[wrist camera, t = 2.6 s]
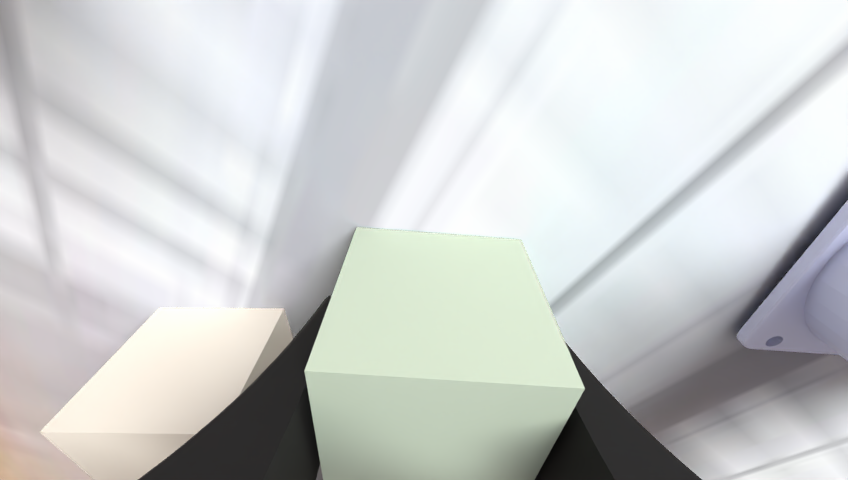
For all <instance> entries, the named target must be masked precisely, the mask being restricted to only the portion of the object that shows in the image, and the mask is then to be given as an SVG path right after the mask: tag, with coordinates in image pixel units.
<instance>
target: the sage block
mask: <svg viewBox="0 0 848 480" xmlns="http://www.w3.org/2000/svg"><path fill="white" fill-rule="evenodd" d="M304 372H305V377H306V383H307V389H308V395H309V401H310V406H311V412H312V418H313V424H314V430H315V435H316V441H317V447H318V453H319V459H320V465H321V470H322V476H323V480H535V478H536V476H537V474H538V473H539V471H540V469H541V467H542V465H543V464H544V462H545V460H546V458H547V456H548V454H549V453H550V451H551V449H552V447H553V445H554V444H555V442H556V440H557V438H558V436H559V435H560V433H561V431H562V429H563V427H564V426H565V424H566V422H567V420H568V418H569V417H570V415H571V413H572V411H573V409H574V408H575V406H576V404H577V402H578V400H579V399H580V397H581V395H582V393H583V391H584V390H585V388H584V385H583V383H582V381H581V378H580V376H579V374H578V371H577V369H576V367H575V364H574V362H573V360H572V357H571V355H570V352H569V350H568V348H567V345H566V343H565V341H564V338H563V336H562V334H561V331H560V329H559V327H558V324H557V322H556V320H555V317H554V315H553V313H552V310H551V308H550V306H549V303H548V301H547V299H546V296H545V294H544V292H543V289H542V287H541V285H540V282H539V280H538V278H537V275H536V273H535V271H534V268H533V266H532V264H531V261H530V259H529V257H528V254H527V252H526V250H525V247H524V245H523V243H522V240H519V239H505V238H492V237H479V236H466V235H453V234H440V233H427V232H414V231H401V230H388V229H375V228H362V227H356V230H355V233H354V236H353V238H352V241H351V244H350V247H349V249H348V252H347V255H346V258H345V261H344V263H343V266H342V269H341V272H340V274H339V277H338V280H337V283H336V285H335V288H334V291H333V294H332V296H331V299H330V302H329V305H328V307H327V310H326V313H325V316H324V318H323V321H322V324H321V327H320V329H319V332H318V335H317V338H316V340H315V343H314V346H313V349H312V351H311V354H310V357H309V360H308V362H307V365H306V368H305V371H304Z"/></svg>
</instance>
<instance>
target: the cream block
mask: <svg viewBox="0 0 848 480" xmlns="http://www.w3.org/2000/svg"><path fill="white" fill-rule="evenodd" d="M292 340H293V336H292V333H291V329H290V326H289V323H288V319H287V316H286V313H285V310H284V308H183V307H159V308H158V309H157V310H156V311H155V312H154V314H153V315H152V316H151V317H150V318H149V319H148V320H147V321H146V322H145V323H144V324H143V325H142V326H141V327H140V328H139V329H138V330H137V331H136V332H135V333H134V334H133V335H132V336H131V337H130V339H129V340H128V341H127V342H126V343H125V344H124V345H123V346H122V347H121V348H120V349H119V350H118V351H117V352H116V353H115V354H114V355H113V356H112V357H111V358H110V359H109V360H108V361H107V362H106V364H105V365H104V366H103V367H102V368H101V369H100V370H99V371H98V372H97V373H96V374H95V375H94V376H93V377H92V378H91V379H90V380H89V381H88V382H87V383H86V384H85V385H84V386H83V388H82V389H81V390H80V391H79V392H78V393H77V394H76V395H75V396H74V397H73V398H72V399H71V400H70V401H69V402H68V403H67V404H66V405H65V406H64V407H63V408H62V409H61V410H60V411H59V413H58V414H57V415H56V416H55V417H54V418H53V419H52V420H51V421H50V422H49V423H48V424H47V425H46V426H45V427H44V428H43V429H42V430H41V431H40V433H41V434H42V435H43V436H45V437H46V438H47V439H48V440H49V441H50V442H51V443H52V444H54V445H55V446H56V447H57V448H58V449H59V450H60V451H61V452H63V453H64V454H65V455H66V456H67V457H68V458H69V459H71V460H72V461H73V462H74V463H75V464H76V465H77V466H78V467H80V468H81V469H82V470H83V471H84V472H85V473H86V474H87V475H89V476H90V477H91V478H92V479H93V480H138V479H139V478H141V477H142V476H143V475H145V474H146V473H147V472H149V471H150V470H151V469H153V468H154V467H155V466H157V465H158V464H159V463H160V462H162V461H163V460H164V459H166V458H167V457H168V456H170V455H171V454H172V453H173V452H175V451H176V450H177V449H178V448H180V447H181V446H182V445H183V444H184V443H186V442H187V441H188V440H189V439H190V438H192V437H193V436H194V435H195V434H196V433H198V432H199V431H200V430H201V429H202V428H203V427H205V426H206V425H207V424H208V423H209V422H210V421H212V420H213V419H214V418H215V417H216V416H217V415H219V414H220V413H221V412H222V411H223V410H224V409H225V408H226V407H227V406H228V405H230V404H231V403H232V402H233V401H234V400H235V399H236V398H237V397H238V396H239V395H240V394H241V393H242V392H243V391H245V390H246V389H247V388H248V387H249V386H250V385H251V384H252V383H253V382H254V381H255V380H256V379H257V378H258V377H259V376H260V375H261V373H262V372H263V371H264V370H265V369H266V368H267V367H268V366H269V365H270V364H271V363H272V362H273V361H274V360H275V359H276V358H277V357H278V356H279V355H280V353H281V352H282V351H283V350H284V349H285V348H286V347H287V346H288V344H289V343H290V342H291V341H292Z"/></svg>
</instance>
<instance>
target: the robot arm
mask: <svg viewBox="0 0 848 480" xmlns="http://www.w3.org/2000/svg"><path fill="white" fill-rule="evenodd" d="M330 299H331V296H328V297H327V298H326V299H325V300H324V301H323V303H322V304H321V305H320V307H319V308H318V309H317V311H316V312H315V313H314V315H313V316H312V317H311V318H310V320H309V321H308V322H307V323H306V324H305V326H304V327H303V328H302V329H301V331H300V332H299V333H298V334H297V335H296V336H295V338H294V339H293V340H292V341H291V342H290V343H289V344H288V346H287V347H286V348H285V349H284V350H283V351H282V352H281V353H280V355H279V356H278V357H277V358H276V359H275V360H274V361H273V362H272V363H271V364H270V365H269V366H268V367H267V368H266V369H265V370H264V371H263V372H262V373H261V375H260V376H259V377H258V378H257V379H256V380H255V381H254V382H253V383H252V384H251V385H250V386H249V387H248V388H247V389H246V390H245V391H243V392H242V393H241V394H240V395H239V396H238V397H237V398H236V399H235V400H234V401H233V402H232V403H231V404H230V405H228V406H227V407H226V408H225V409H224V410H223V411H222V412H221V413H220V414H219V415H217V416H216V417H215V418H214V419H213V420H212V421H210V422H209V423H208V424H207V425H206V426H205V427H203V428H202V429H201V430H200V431H199V432H198V433H196V434H195V435H194V436H193V437H192V438H190V439H189V440H188V441H187V442H186V443H184V444H183V445H182V446H181V447H180V448H178V449H177V450H176V451H175V452H173V453H172V454H171V455H170V456H168V457H167V458H166V459H164V460H163V461H162V462H160V463H159V464H158V465H157V466H155V467H154V468H153V469H151V470H150V471H149V472H147V473H146V474H145V475H143V476H142V477H141V478H139V479H138V480H316V478H317V473H318V470H319V466H320V459H319V453H318V447H317V441H316V435H315V430H314V424H313V418H312V412H311V406H310V401H309V395H308V389H307V383H306V377H305V372H304V371H305V368H306V365H307V362H308V360H309V357H310V354H311V351H312V349H313V346H314V343H315V340H316V338H317V335H318V332H319V329H320V327H321V324H322V321H323V318H324V316H325V313H326V310H327V307H328V305H329V302H330ZM737 339H738V340H739V341H740V342H741V343H742V344H743V346H745V347H746V348H749V349H758V350H773V351H788V352H803V353H818V354H833V355H840V356H841V357H843V358H844V359H845V360H846V361H848V200H847V201H846V203H845V204H844V205H843V206H842V207H841V209H840V210H839V211H838V212H837V213H836V215H835V216H834V217H833V218H832V220H831V221H830V222H829V223H828V224H827V226H826V227H825V228H824V229H823V230H822V232H821V233H820V234H819V235H818V236H817V238H816V239H815V240H814V241H813V242H812V244H811V245H810V246H809V247H808V248H807V250H806V251H805V252H804V253H803V254H802V256H801V257H800V258H799V259H798V260H797V262H796V263H795V264H794V265H793V266H792V268H791V269H790V270H789V271H788V272H787V274H786V275H785V276H784V277H783V278H782V280H781V281H780V282H779V283H778V284H777V286H776V287H775V288H774V289H773V291H772V292H771V293H770V294H769V295H768V297H767V298H766V299H765V300H764V301H763V303H762V304H761V305H760V306H759V307H758V309H757V310H756V311H755V312H754V313H753V315H752V316H751V317H750V318H749V319H748V321H747V322H746V323H745V324H744V325H743V327H742V328H741V329H740V330H739V332H738V334H737ZM565 343H566V342H565ZM566 345H567V343H566ZM567 348H568V350H569V352H570V355H571V357H572V360H573V362H574V364H575V367H576V369H577V371H578V374H579V376H580V378H581V381H582V383H583V385H584V388H585V390H584V391H583V393H582V395H581V397H580V399H579V400H578V402H577V404H576V406H575V408H574V409H573V411H572V413H571V415H570V417H569V418H568V420H567V422H566V424H565V426H564V427H563V429H562V431H561V433H560V435H559V436H558V438H557V440H556V442H555V444H554V445H553V447H552V449H551V451H550V453H549V454H548V456H547V458H546V460H545V462H544V464H543V465H542V467H541V469H540V471H539V473H538V474H537V476H536V478H535V480H702V479H701V478H699V477H698V476H697V475H696V474H695V473H694V472H692V471H691V470H690V469H689V468H688V467H686V466H685V465H684V464H683V463H682V462H681V461H680V460H678V459H677V458H676V457H675V456H674V455H673V454H672V453H671V452H669V451H668V450H667V449H666V448H665V447H664V446H663V445H662V444H661V443H660V442H659V441H658V440H656V439H655V438H654V437H653V436H652V435H651V434H650V433H649V432H648V431H647V430H646V429H645V428H644V427H643V426H642V425H641V424H640V423H638V422H637V421H636V420H635V419H634V418H633V417H632V416H631V415H630V414H629V413H628V412H627V411H626V410H625V409H624V408H623V406H622V405H621V404H620V403H619V402H618V401H617V400H616V399H615V398H614V397H613V396H612V395H611V394H610V393H609V392H608V391H607V390H606V389H605V387H604V386H603V385H602V384H601V383H600V382H599V381H598V380H597V379H596V377H595V376H594V375H593V374H592V373H591V372H590V371H589V369H588V368H587V367H586V366H585V365H584V364H583V363H582V361H581V360H580V359H579V358H578V357H577V355H576V354H575V353H574V352H573V351H572V350H571V348H570V347H569V346H568V345H567Z"/></svg>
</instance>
